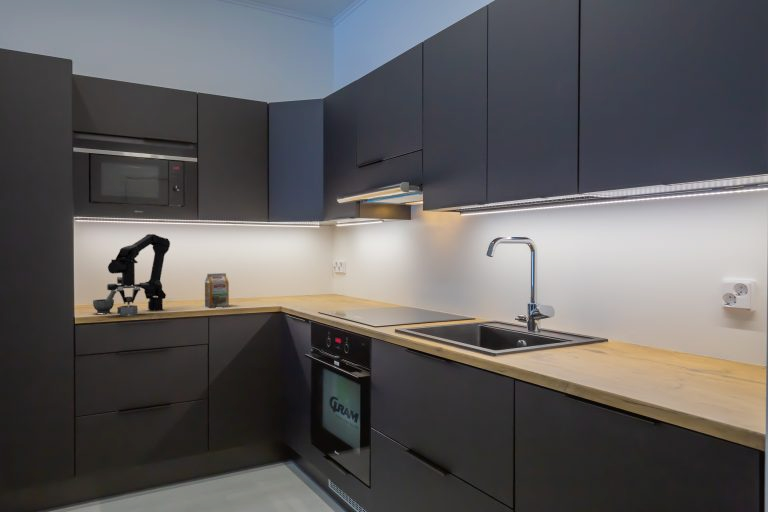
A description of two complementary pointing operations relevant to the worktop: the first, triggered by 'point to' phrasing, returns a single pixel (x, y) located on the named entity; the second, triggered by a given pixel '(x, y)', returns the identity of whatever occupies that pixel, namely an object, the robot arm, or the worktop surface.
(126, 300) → the plunger
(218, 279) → the printed carton
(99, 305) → the mortar and pestle
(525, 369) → the worktop surface
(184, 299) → the worktop surface
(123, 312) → the blue-grey block
